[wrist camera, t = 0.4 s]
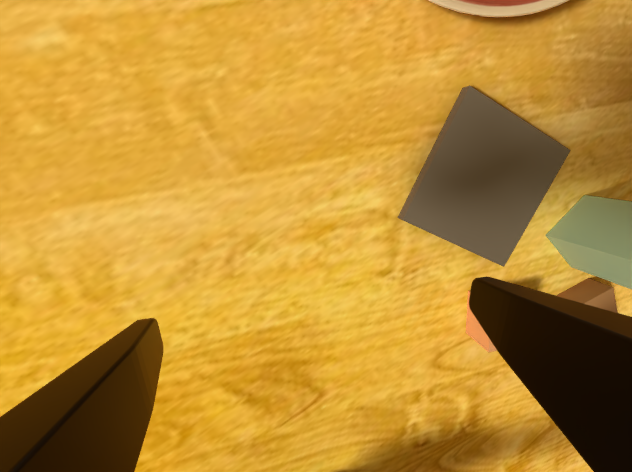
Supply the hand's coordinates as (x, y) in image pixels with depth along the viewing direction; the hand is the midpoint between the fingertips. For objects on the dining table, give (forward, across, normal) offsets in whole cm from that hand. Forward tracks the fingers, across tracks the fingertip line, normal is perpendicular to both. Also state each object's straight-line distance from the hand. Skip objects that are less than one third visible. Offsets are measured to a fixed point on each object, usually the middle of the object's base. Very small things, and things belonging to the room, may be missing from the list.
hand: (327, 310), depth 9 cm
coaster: (+14, -15, 0) cm, 21 cm away
